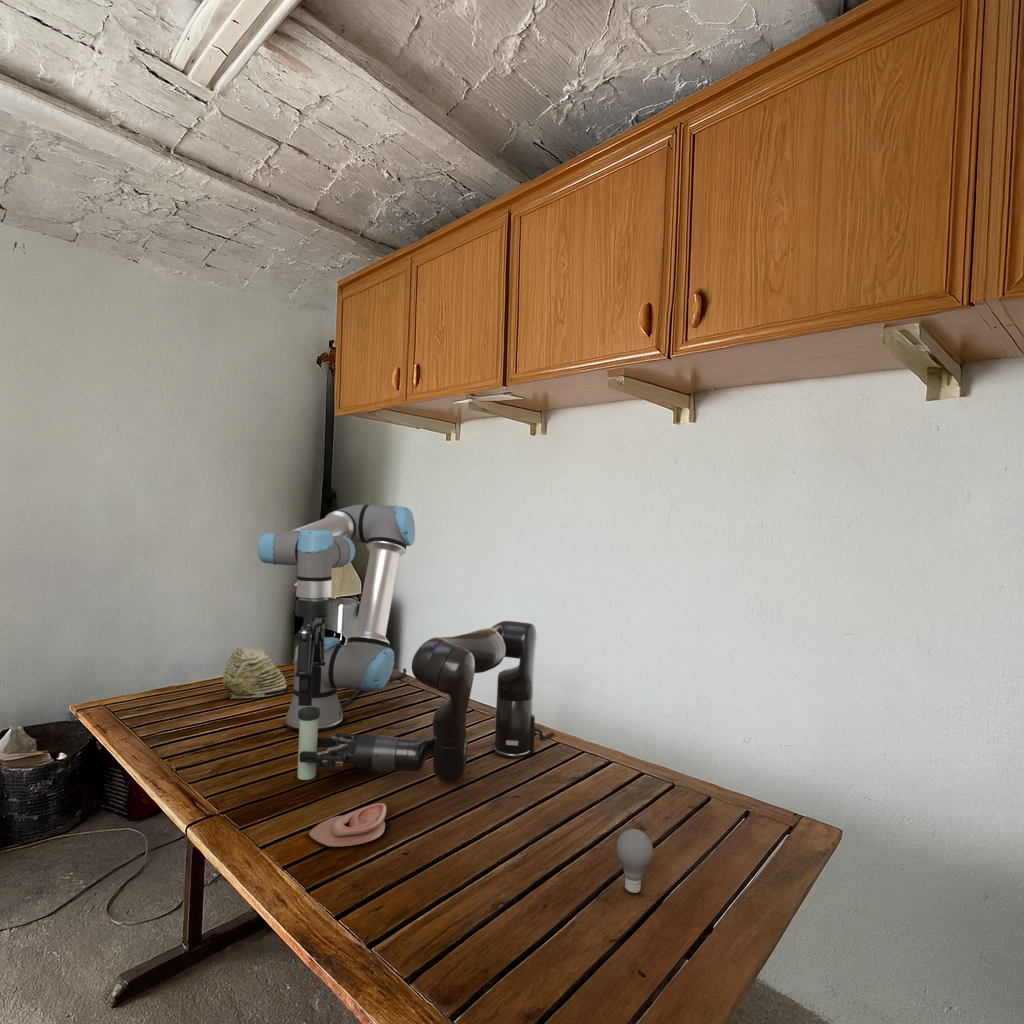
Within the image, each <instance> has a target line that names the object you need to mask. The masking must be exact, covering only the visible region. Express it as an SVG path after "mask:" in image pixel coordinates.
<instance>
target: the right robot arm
mask: <svg viewBox="0 0 1024 1024" xmlns="http://www.w3.org/2000/svg"><path fill="white" fill-rule="evenodd" d="M537 647H538V630H537V627H536V625H535V624H533V623H530V622H524V621H523V622H522V621H513V620H501V621H500V622H497V623H496V624H494V625H492V626H491V627H486V628H480V629H477V630H473V631H471V632H467V633H461V634H459V635H455V636H436V637H431V638H429V639H428V640H426V641H424V642H423V643H422V644H421V645H420V646H419V648H417V650H416V651H415V653H414V655H413V658H412V661H411V671H412V675H413V677H414V678H415V679H416V680H417V681H418V682H420V683H421V684H423V685H425V686H426V687H429V688H430V689H434V690H435V691H438V692H440V693H442V694H445V695H448V696H449V698H448V699H447V700H446V701H444V702H443V703H441V704H440V705H439V706H438V708H436V710H435V712H434V715H433V717H432V734H433V735H429V736H424V737H420V738H410V737H409V738H408V737H397V736H391V735H380V734H378V735H377V734H363V733H362V734H353V733H352V734H351V733H341V732H338V733H335V735H331V736H330V737H329V736H318V738H317V748H325V749H326V750H322V751H317V752H310V751H302V752H301V753H300V758H299V760H300V762H305V763H316V770H336V771H337V770H340V771H341V770H345V764H350V763H352V764H353V767H354V769H355V770H356V771H366V772H367V771H368V772H369V771H370V772H386V773H387V772H388V773H389V772H404V773H405V772H406V773H418V772H421V771H422V770H423V768H424V765H425V764H426V762H427V760H428V758H430V757H432V756H433V758H432V759H433V760H432V770H433V773H434V776H435V777H436V778H437V779H438V780H439V782H442V783H444V784H455V783H457V782H459V781H460V780H461V779H463V777H464V775H465V774H466V773H465V772H466V766H467V759H468V750H469V742H468V740H467V714H468V713H467V711H468V708H469V703H470V702H469V701H470V698H471V694H472V689H473V682H474V677H475V674H482V673H485V672H488V671H490V670H493V669H495V668H496V667H498V666H500V664H501V663H502V662H503V660H504V658H509V659H518V660H519V662H518V665H516V666H514V667H510V668H505V669H503V670H500V671H499V672H498V674H497V681H496V682H497V683H496V685H497V686H496V707H495V728H494V729H495V730H494V732H495V733H494V745H493V751H494V752H495V753H496V754H497V755H499V756H501V757H505V758H512V759H514V758H515V759H517V758H524V757H526V756H528V755H531V754H534V748H535V747H534V746H535V738H536V733H539V739H541V740H546V739H548V738H550V737H552V736H554V735H555V732H553V731H551V732H549V733H547V734H545V735H543V734H544V733H543V731H542V729H539V728H537V727H536V725H535V723H536V716H535V715H534V714H533V701H534V699H533V697H534V696H533V695H534V679H535V670H536V656H537Z"/></svg>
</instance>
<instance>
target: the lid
mask: <svg viewBox="0 0 1024 1024" xmlns="http://www.w3.org/2000/svg"><path fill="white" fill-rule="evenodd" d="M319 717H320V709H319V708H317V707H304V708H301V709H299V712H298V718H299V719H301V720H315V719H317V718H319Z"/></svg>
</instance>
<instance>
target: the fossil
mask: <svg viewBox="0 0 1024 1024" xmlns="http://www.w3.org/2000/svg"><path fill="white" fill-rule="evenodd" d="M222 676H223V677H222V685H223V687H224V688H225V690H226V691H228V693H229V698H230V699H250V698H264V697H271V696H275V695H281V694H284V693H285V691H286V689H287V687H288V686H287V680H286V678H285V676H284V674H283V673H282V672H281V669H279V668H278V667H277V665H276V663H275V662H274V660H273V659H272V658H271V657H270V656H269V655H268V654H267V653H266V652H265V650H264V649H263V648H260V647H258V648H251V647H247V646H246V647H245V646H238V647H237V648H236V649H235V650H233V651H232V653H231V656H230V657H229V659H228V660H227V663H226V666H225V668H224V671H223V675H222Z"/></svg>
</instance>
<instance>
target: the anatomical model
mask: <svg viewBox="0 0 1024 1024" xmlns="http://www.w3.org/2000/svg"><path fill="white" fill-rule="evenodd" d="M386 816H387V805H386V804H385V803H383V802H378V803H373V804H370V805H368V806H364V807H360V808H358V809H355V810H353V811H351V812H348V813H346V814H344V815H343V814H342V815H337V816H333V817H331V818H328V819H326V820H323V821H322V822H320V823H318V824H317V825H315V826H314V827H313V828H311V830H309V832H308V835H309V837H310V838H311V839H313V840H315V841H316V842H318V843H319V844H321V845H325V846H327V847H333V848H335V847H348V846H349V847H350V846H357V845H361V844H365V843H368V842H372V841H374V840H376V839H378V838H380V837H381V836H382V835H383V834H384V832H385V829H386V822H385V819H386Z"/></svg>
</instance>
